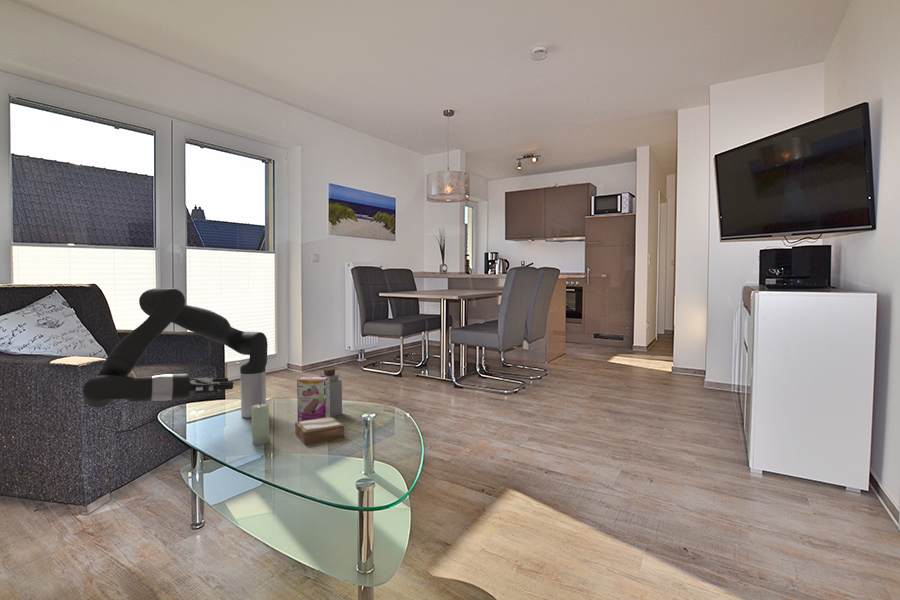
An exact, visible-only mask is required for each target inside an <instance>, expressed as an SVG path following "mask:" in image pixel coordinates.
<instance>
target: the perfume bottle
mask: <svg viewBox="0 0 900 600" xmlns="http://www.w3.org/2000/svg"><path fill="white" fill-rule="evenodd" d="M323 372H324V374H320V375H319V376H320V377H327V378H330V417H331V416H333V417H335V416H336V417H337V416H339V415H338V414H341V413H342V414H343V391H342V390H343V387H342V385H343V383H342V382H343V381H342V380H341V379H339V377H340V374H337V373H336V369H335V368H330V367H329V368H325V369H323ZM342 414H341V415H342Z"/></svg>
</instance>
